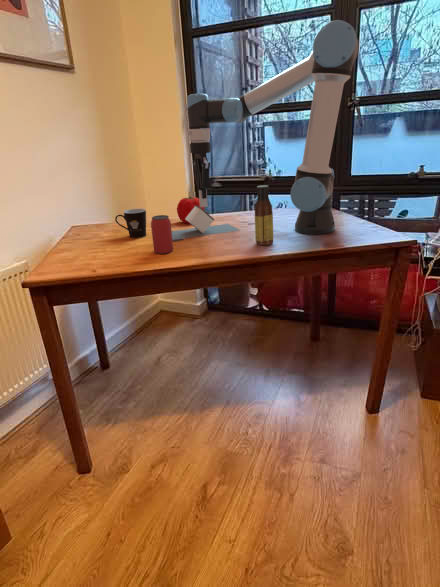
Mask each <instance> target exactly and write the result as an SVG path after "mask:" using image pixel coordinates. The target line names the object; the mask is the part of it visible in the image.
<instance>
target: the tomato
mask: <svg viewBox="0 0 440 587" xmlns="http://www.w3.org/2000/svg"><path fill="white" fill-rule="evenodd" d="M196 205H197V206H199V207H200V201H199V197H196V196H195V197H194V196H189V197H182V198H181V199H180V200H179V201H178V204H177V207H176V213H177V216H178V219H179V220H180V221H181V222H182V223H184V224H188V225H191V224H190V223H189V222H188V221H187V220H186V219H185V218H186V217H187V216H188V215H189V213H190V212H191V211H192V210H193V208H194V207H195V206H196ZM201 208H202V209H204V210H205V208H206V207H201ZM205 211H206V210H205Z"/></svg>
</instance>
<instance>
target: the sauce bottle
mask: <svg viewBox="0 0 440 587" xmlns="http://www.w3.org/2000/svg"><path fill="white" fill-rule="evenodd" d="M269 188H270V187H269V185H268V184H267V185H266V184H263V185H257V186H256V193H257V196H256V197H257V198H256V199H257V200H256V202H255V204H254V232H255V234H254V235H255V243H256V245H258V246H265V247H266V246H270V245H273V244H274V215H273V205H272V203H271V200H270V199H269V198H270V197H269V190H270V189H269Z"/></svg>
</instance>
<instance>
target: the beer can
mask: <svg viewBox="0 0 440 587" xmlns="http://www.w3.org/2000/svg"><path fill="white" fill-rule="evenodd" d="M171 222H172V221H171V220H170V218H169V215H166V214H165V215H163V214H160V215H154V216H151V221H150V228H151V236H152V245H153V246H152V247H153V252H154V253H155V254H158V255H166V254H170V253H172V252H173V251H174V242H173V241H172V231H173V230H172V223H171Z"/></svg>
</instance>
